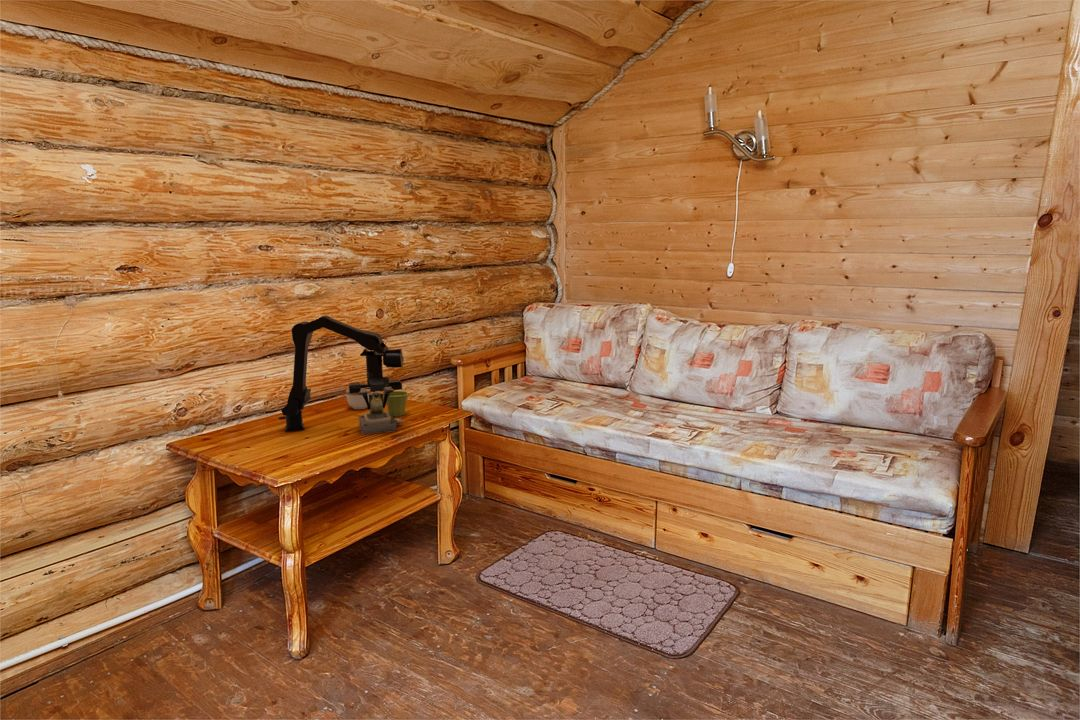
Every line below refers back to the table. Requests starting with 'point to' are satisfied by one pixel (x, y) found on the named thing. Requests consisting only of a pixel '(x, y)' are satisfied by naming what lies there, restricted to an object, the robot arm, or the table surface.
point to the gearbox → (378, 423)
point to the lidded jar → (357, 399)
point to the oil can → (376, 403)
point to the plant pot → (397, 402)
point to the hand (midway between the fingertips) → (376, 408)
